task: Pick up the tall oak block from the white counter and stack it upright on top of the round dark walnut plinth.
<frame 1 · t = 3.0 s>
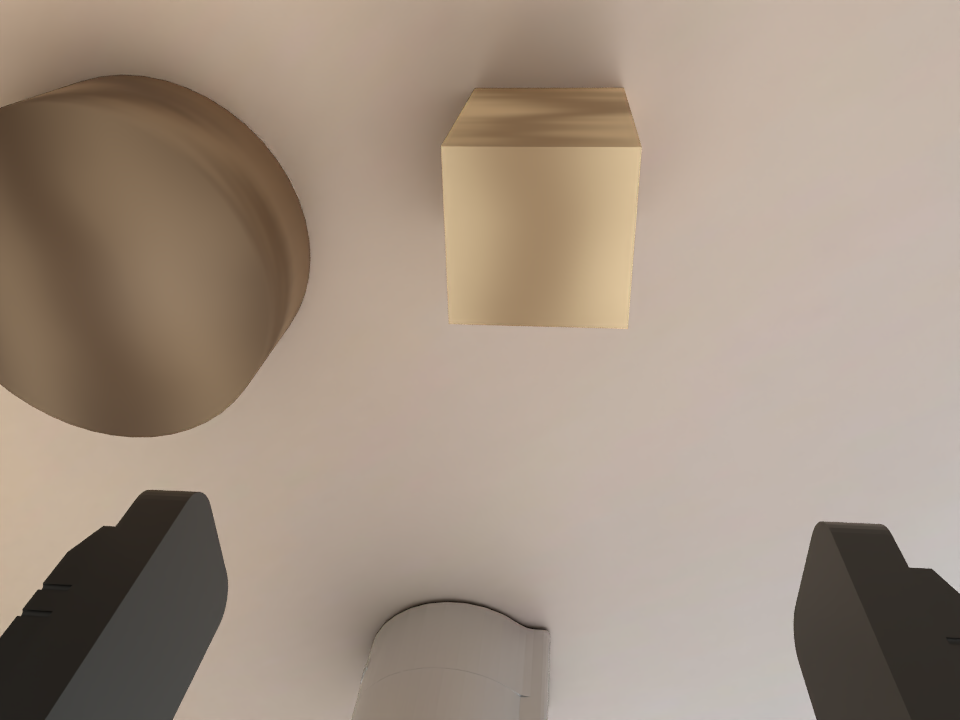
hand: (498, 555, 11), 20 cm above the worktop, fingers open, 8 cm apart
walnut plinth: (158, 236, 31), on the worktop
oak block: (547, 161, 28), on the worktop
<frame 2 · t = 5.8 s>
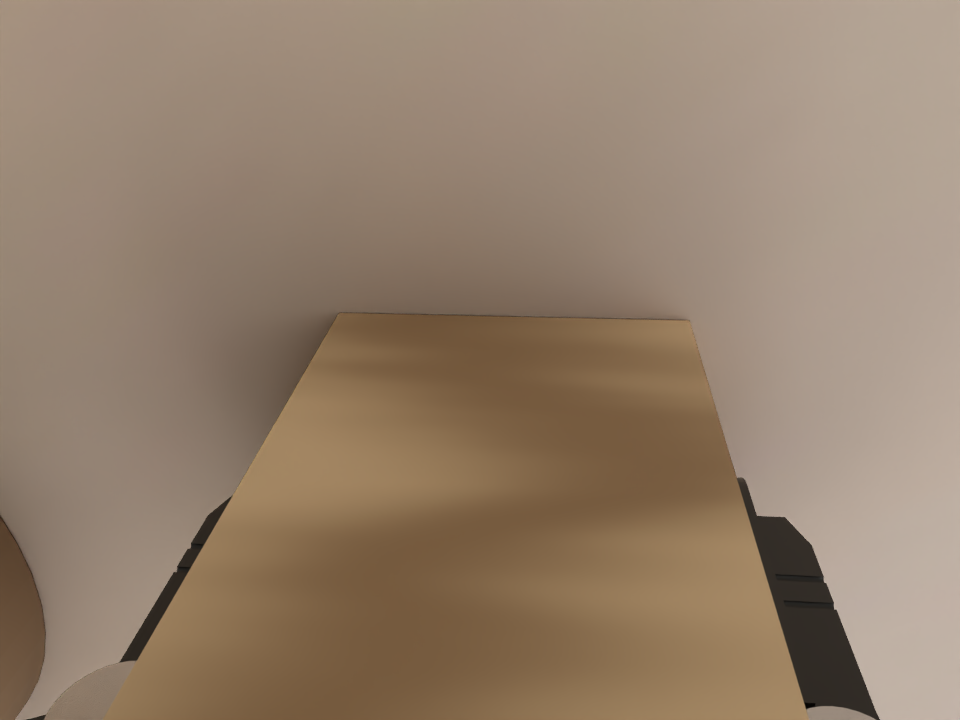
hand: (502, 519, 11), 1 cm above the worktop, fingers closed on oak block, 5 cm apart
oak block: (511, 459, 13), on the worktop, touching gripper
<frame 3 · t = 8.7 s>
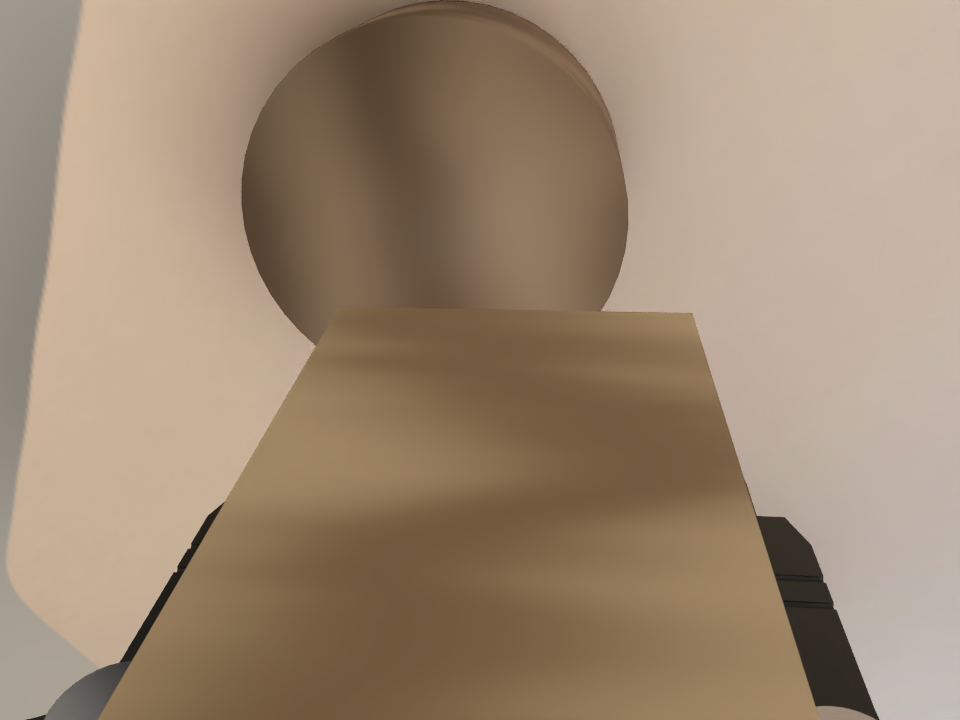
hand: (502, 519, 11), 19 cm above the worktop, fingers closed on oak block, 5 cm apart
walnut plinth: (452, 180, 29), on the worktop
oak block: (512, 453, 12), point 18 cm above the worktop, touching gripper
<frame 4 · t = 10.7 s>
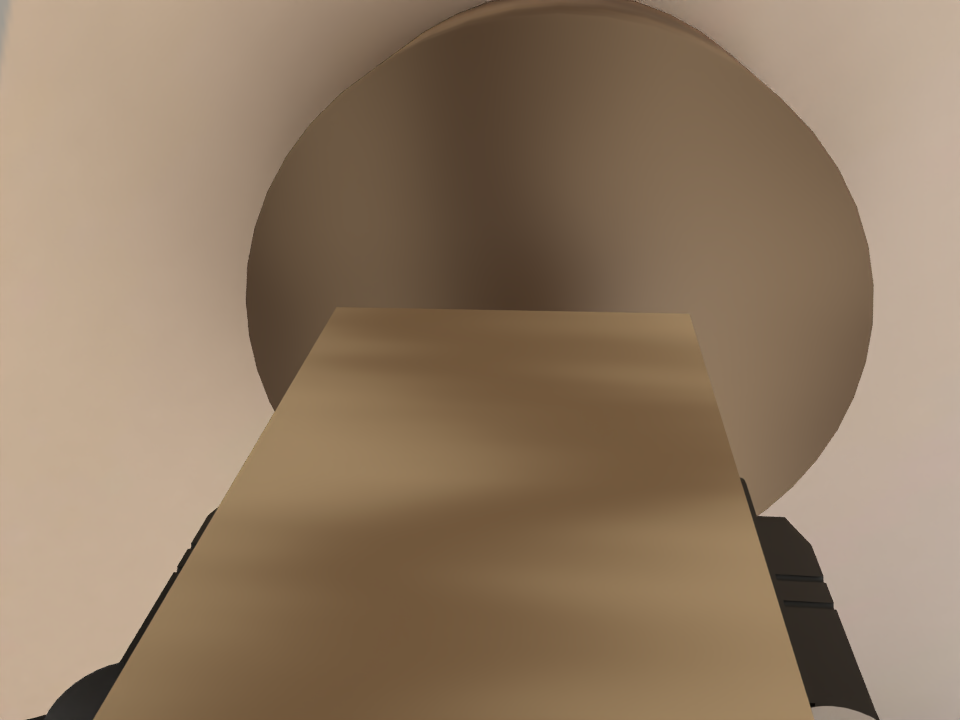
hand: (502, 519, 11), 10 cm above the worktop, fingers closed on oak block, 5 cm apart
walnut plinth: (552, 254, 20), on the worktop
oak block: (510, 454, 12), point 9 cm above the worktop, touching gripper
when the fingers open (8 cm above the worktop, at t = 12.0 s): oak block drops 1 cm, resting on walnut plinth.
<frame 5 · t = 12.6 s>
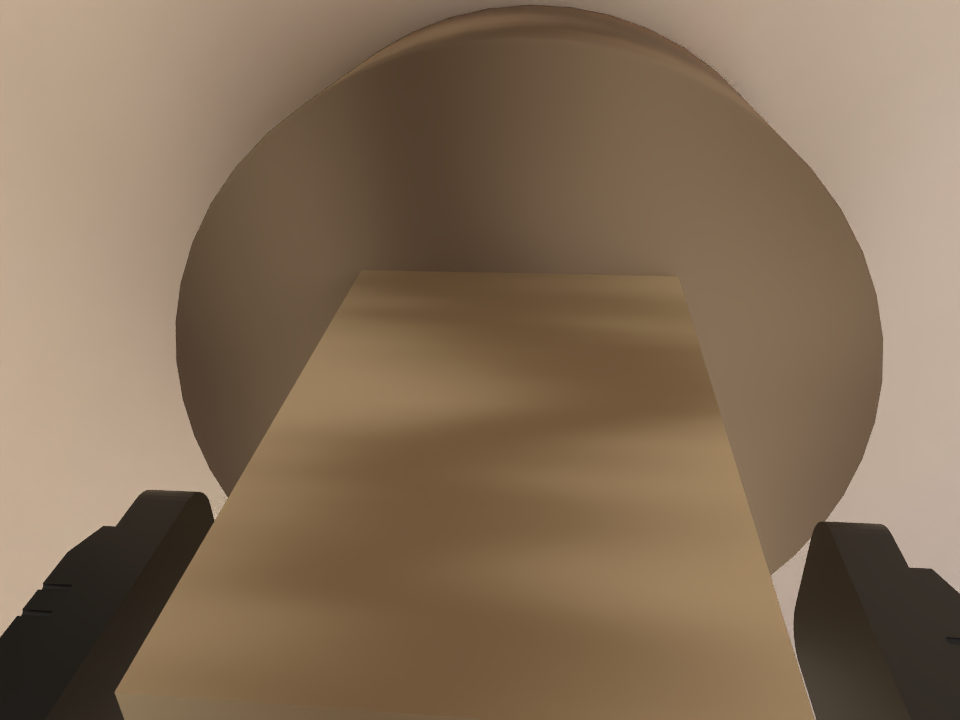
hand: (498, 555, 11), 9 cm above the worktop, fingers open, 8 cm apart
walnut plinth: (527, 291, 18), on the worktop
oak block: (516, 406, 14), point 5 cm above the worktop, touching walnut plinth
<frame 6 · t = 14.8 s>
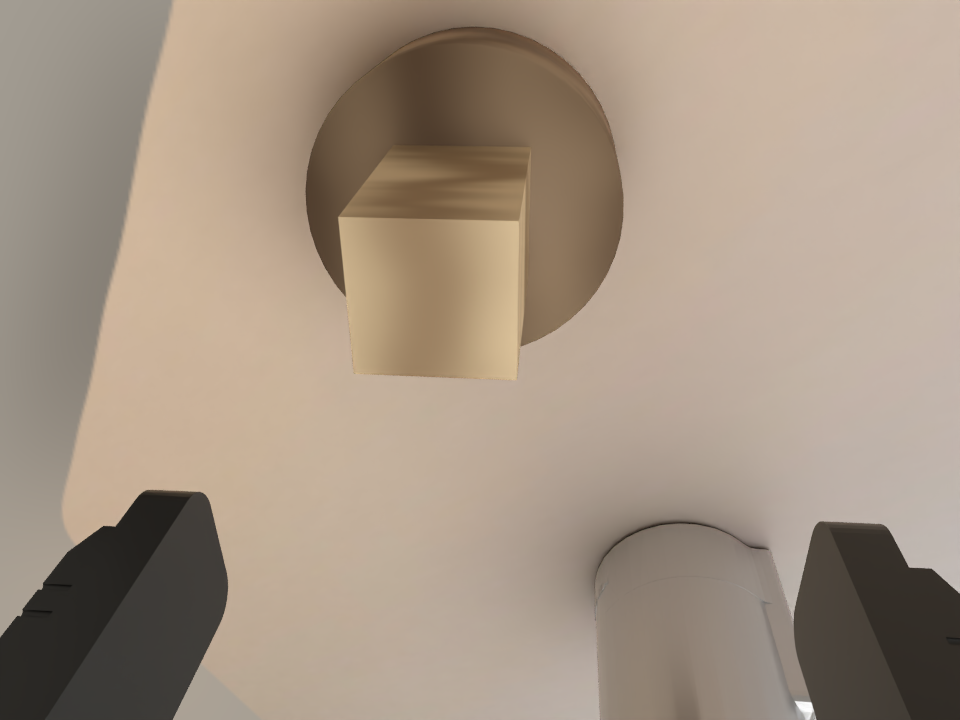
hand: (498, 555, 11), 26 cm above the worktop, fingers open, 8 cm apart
walnut plinth: (475, 176, 34), on the worktop
oak block: (463, 212, 30), point 5 cm above the worktop, touching walnut plinth
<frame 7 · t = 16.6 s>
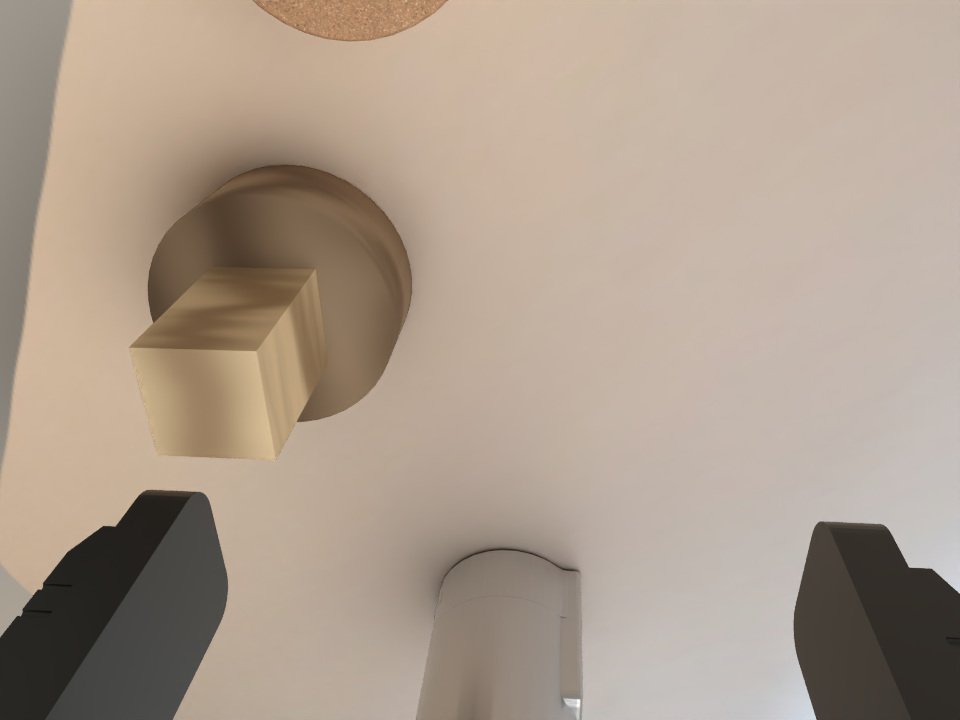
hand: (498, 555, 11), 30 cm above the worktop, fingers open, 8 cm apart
walnut plinth: (301, 276, 42), on the worktop
oak block: (271, 316, 38), point 5 cm above the worktop, touching walnut plinth
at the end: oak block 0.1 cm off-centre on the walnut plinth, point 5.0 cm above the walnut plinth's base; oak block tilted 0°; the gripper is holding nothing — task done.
